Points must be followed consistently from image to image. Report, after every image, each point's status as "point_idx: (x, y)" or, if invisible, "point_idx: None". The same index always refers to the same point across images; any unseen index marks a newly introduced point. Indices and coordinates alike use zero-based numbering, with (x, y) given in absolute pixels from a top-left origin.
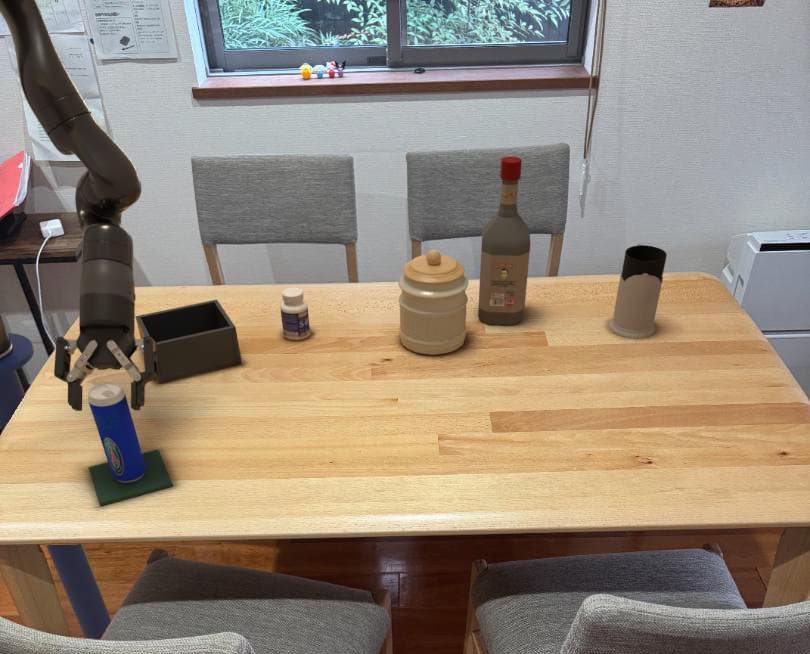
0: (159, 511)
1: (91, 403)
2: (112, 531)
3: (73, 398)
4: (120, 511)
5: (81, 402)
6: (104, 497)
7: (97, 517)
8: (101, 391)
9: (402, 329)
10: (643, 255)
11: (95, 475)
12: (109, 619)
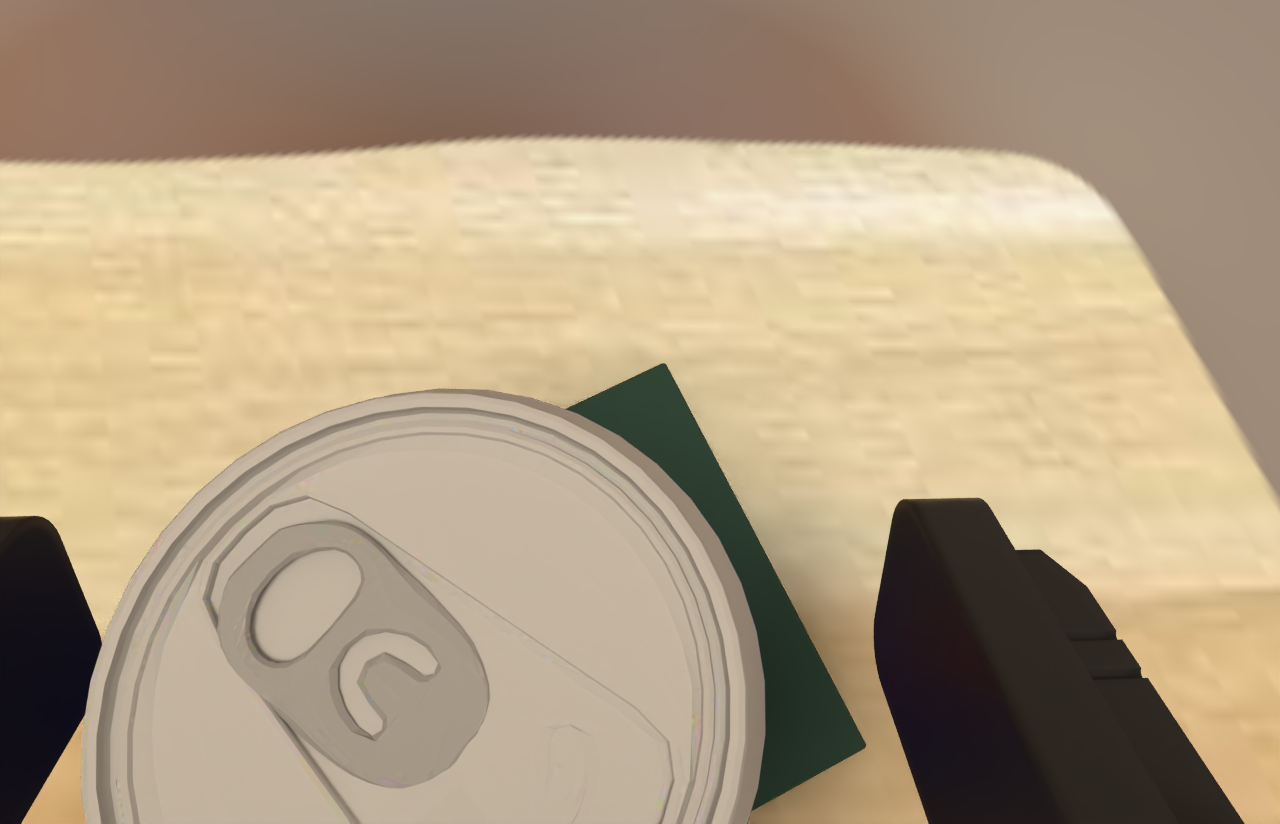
0: (297, 324)
1: (636, 453)
2: (530, 164)
3: (993, 574)
4: (530, 325)
5: (906, 723)
6: (649, 415)
7: (649, 275)
8: (516, 749)
9: None
10: None
11: (784, 647)
12: None
